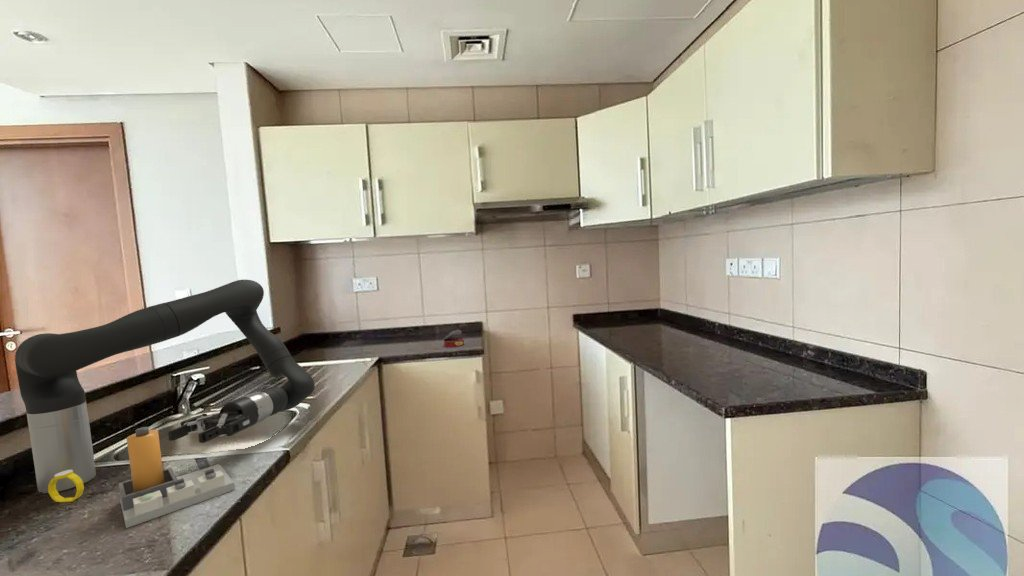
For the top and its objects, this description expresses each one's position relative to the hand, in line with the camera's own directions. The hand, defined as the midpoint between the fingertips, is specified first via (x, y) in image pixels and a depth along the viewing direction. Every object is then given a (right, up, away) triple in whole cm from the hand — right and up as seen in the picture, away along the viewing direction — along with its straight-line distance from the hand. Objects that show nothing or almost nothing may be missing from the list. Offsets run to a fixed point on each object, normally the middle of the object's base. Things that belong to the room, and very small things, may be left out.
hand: (184, 437), depth 97 cm
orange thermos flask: (-2, -9, -7) cm, 11 cm away
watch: (-20, -12, -4) cm, 24 cm away
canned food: (+41, +3, +133) cm, 139 cm away
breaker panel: (+3, -10, -6) cm, 12 cm away
